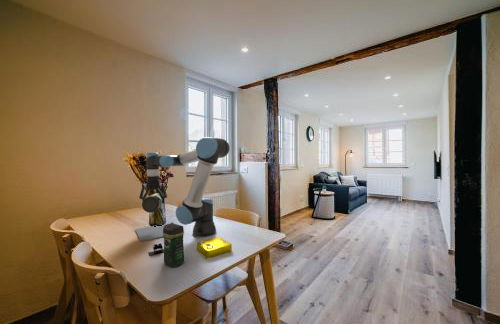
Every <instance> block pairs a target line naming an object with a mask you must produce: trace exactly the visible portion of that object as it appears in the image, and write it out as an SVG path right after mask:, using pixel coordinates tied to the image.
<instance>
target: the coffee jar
mask: <svg viewBox="0 0 500 324" xmlns="http://www.w3.org/2000/svg"><path fill="white" fill-rule="evenodd" d="M165 224H166V225H165V226H164V227H163V236H164V237H163V249H164V253H163V263H164V265H165V266H167V267H169V268H176V267H180V266H182V264H184V263H185V249H184V248H185V247H184V235H185V231H184V226H183V225H182V224H181V225H179V224H176V223H173V222H171V223H165Z"/></svg>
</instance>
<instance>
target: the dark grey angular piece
mask: <svg viewBox="0 0 500 324" xmlns="http://www.w3.org/2000/svg"><path fill="white" fill-rule="evenodd" d="M152 249H153V250H152V251H148V252H147V254H148V256H149V257H153V256H156V255H162V254H164V246H163V244H162V243H160V242H159V243H157V244H156V243H155V244H153V247H152Z"/></svg>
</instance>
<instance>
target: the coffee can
mask: <svg viewBox="0 0 500 324" xmlns="http://www.w3.org/2000/svg"><path fill="white" fill-rule="evenodd" d="M161 199H162V198H161V196H160V195H159V193H158V192H157V193H153V194H151V195H149V196H146V198H145V199H144V200H143V202H141V207H142V209H143V210H144V211H145V212H147V213H154V212H156V211H157V210H158V209H161Z"/></svg>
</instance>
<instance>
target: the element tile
mask: <svg viewBox="0 0 500 324" xmlns="http://www.w3.org/2000/svg"><path fill="white" fill-rule="evenodd" d="M196 251H197V252H198V253H199V254H200V255H201V256H203V257H204V258H205V259H212V258H216V257H220V256H222V255H225V254H226V255H227V254H230V253H231V252H232V251H233V246H232V243H231V242H229V241H228V240H226V239H224V238H223V237H222V236H216V237H212V238H208V239H203V240H201V241H199V240H198V241H197V242H196Z"/></svg>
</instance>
